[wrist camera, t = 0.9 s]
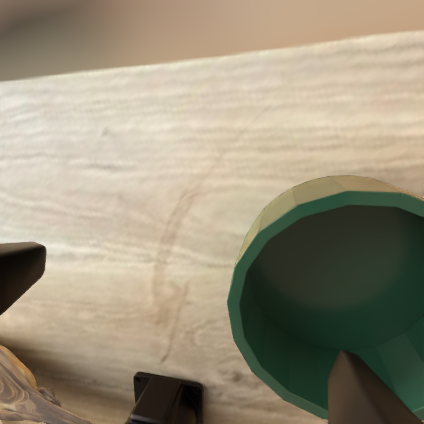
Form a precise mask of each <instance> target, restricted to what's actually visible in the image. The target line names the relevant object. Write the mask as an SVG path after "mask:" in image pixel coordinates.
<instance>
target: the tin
mask: <svg viewBox="0 0 424 424" xmlns="http://www.w3.org/2000/svg"><path fill="white" fill-rule="evenodd" d="M227 306H228V311H229V317H230V323H231V328H232V334H233V339H234V341H235V343H236V345H237V347H238V348H239V350H240V352H241V353H242V355H243V357H244V359H245V360H246V362H247V364H248V366H249V367H250V369H251V371H252V372H253V373H254V374H255V375H256V376H257V377H258V378H260V379H261V380H262V381H263V382H264V383H265V384H266V385H267V386H268V387H270V388H271V389H272V390H273V391H274V392H275V393H276V394H277V395H278V396H280V397H281V398H283V400H285V401H287V402H289V403H291V404H293V405H295V406H297V407H299V408H301V409H303V410H305V411H308V412H310V413H312V414H314V415H316V416H318V417H321V418H322V419H327V420H328V375H329V372H330V370H331V368H332V365H333V363H334V361H335V358H336V356H337V354H338V352H339V351H340V350H346V351H349V352H352V353H355V354H357V355H358V356H359V357H360V358H361V359H362V360H363V361H364V362H365V363H366V364H367V365H368V366H369V367H370V368H371V369H372V370H373V371H374V372H375V373H376V374H377V375H378V377H379V378H380V379H381V380H382V381H383V382H384V383H385V384H386V385H387V386H388V387H389V388H390V389H391V390H392V391H393V392H394V393H395V394H396V395H397V396H398V397H399V398H400V399H401V401H402V402H403V403H404V404H405V405H406V406H407V407H408V408H409V409H410V410H411V411H412V412H413V413H414V414H415V415H416V416H417V417H418V418H419V419H420V420H424V198H421V197H419V196H417V195H415V194H412V193H410V192H408V191H405V190H403V189H400V188H397V187H395V186H392V185H390V184H387V183H384V182H381V181H379V180H376V179H374V178H369V177H359V176H328V177H324V178H318V179H315V180H311V181H308V182H305V183H302V184H300V185H298V186H295V187H293V188H291V189H290V190H288V191H286V192H284V193H283V194H281V195H280V196H279V197H277V198H276V199H275V200H273V201H272V202H271V203H270V204H269V205H268V206H266V207H265V208H264V209H263V211H262V212H261V214H260V215H259V216H258V217H257V219H256V220H255V222H254V224H253V225H252V227H251V229H250V230H249V232H248V233H247V235H246V237H245V240H244V243H243V246H242V248H241V251H240V254H239V256H238V259H237V262H236V264H235V268H234V272H233V277H232V281H231V286H230V291H229V295H228V300H227Z"/></svg>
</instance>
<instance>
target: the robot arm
mask: <svg viewBox="0 0 424 424" xmlns="http://www.w3.org/2000/svg"><path fill="white" fill-rule="evenodd" d="M45 263H46V247H45V246H44V245H41V244H38V243H35V242H21V243H6V244H0V315H1V314H2V313H4V312H5V311H6V310H7V309H8V308H9V307H10V306H11V305H12V304H13V303H14V302H15V301H17V300H18V299H19V298H20V297H21V296H22V295H23V294H24V293H25V292H26V291H27V290H28V289H29V288H30V287H31V286H32V285H33V284H35V283H36V282H37V281H38V280H39V279H40V278H41V277H42V275H43V273H44V271H45ZM197 389H198V390H197ZM134 392H135V404H136V405H135V406H134V408H133V410H132V412H131V414H130V416H129V417H128V419H127V421H126V423H125V424H204V388H203V386H202V385H201V384H200V383H196V382H191V381H185V380H180V379H175V378H170V377H164V376H159V375H154V374H149V373H143V372H137V373H136V374H135V376H134ZM328 423H329V424H424V423H423V422H422V421H421V420H420V419H419V418H418V417H417V416H416V415H415V414H414V413H413V412H412V411H411V410H410V409H409V408H408V407H407V406H406V405H405V404H404V403H403V402H402V401H401V399H400V398H399V397H398V396H397V395H396V394H395V393H394V392H393V391H392V390H391V389H390V388H389V387H388V386H387V385H386V384H385V383H384V382H383V381H382V380H381V379H380V378H379V377H378V375H377V374H376V373H375V372H374V371H373V370H372V369H371V368H370V367H369V366H368V365H367V364H366V363H365V362H364V361H363V360H362V359H361V358H360V357H359V356H358V355H357V354H355V353H352V352H349V351H346V350H340V351H339V352H338V354H337V356H336V358H335V361H334V363H333V365H332V368H331V370H330V372H329V375H328Z"/></svg>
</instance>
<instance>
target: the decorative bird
mask: <svg viewBox="0 0 424 424" xmlns="http://www.w3.org/2000/svg"><path fill="white" fill-rule="evenodd" d="M0 420H8V421H19V420H20V421H23V420H29V421H35V422H44V423H46V424H94V423H92V422H90V421H87V420H85V419H83V418H81V417H79V416H77V415H75V414H73V413H71V412H69V411H67V410H65V409H63V408H62V407H61V405H60V402H59V401H58V400H57V399H56V398H55V393H54V392H53V389H52V390H48V389H45V387H41V388H37V385H36V381H35V378H34V376H33V375H32V373H31V371H30V370H29V369H27V368H26V367H25V366H24V364H23V363H21V362H20V361H19V360H18V359H17V358H16V357H15V355H14V354H13V353H12V352H10V351H9V350H8V349H7V348H5V347H4V346H1V345H0Z"/></svg>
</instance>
